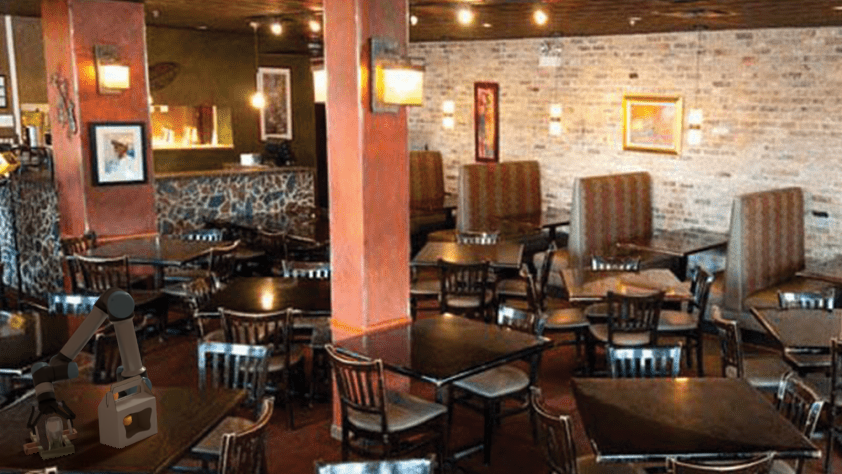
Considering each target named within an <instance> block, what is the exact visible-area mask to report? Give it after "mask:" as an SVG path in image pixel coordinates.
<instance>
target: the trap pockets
mask: <svg viewBox="0 0 842 474" xmlns="http://www.w3.org/2000/svg"><path fill="white" fill-rule="evenodd" d="M72 431H73V433H72V435H70V432H69V428H68V429H65V430H64V429H63V433H64V435H66V436H67V437H68V439H69V441H71V440H77V439H78V438H79V433H78V431H77V430H76V428H75V427H72ZM62 442H63V439H62ZM22 447H23V448H22V449H23V452H24V454H25V455H26V456H30V455H34V454H33V453H35V454H38V453H37V452H39V451H38V447H36V442H33V441H32V442H29V443H28V442H27V443H25V444H22ZM29 454H30V455H29Z"/></svg>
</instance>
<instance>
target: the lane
mask: <svg viewBox="0 0 842 474" xmlns="http://www.w3.org/2000/svg"><path fill="white" fill-rule="evenodd" d="M29 438H30V439H31V442H32V443H33V442H36V447H38V451H39V453H38V454H39V456H40V458H41V457H42V458H41V459H43V460H42V461H46V460H45V459H47V460H50V459H49V458H52V459H55V457H56V458H60V456H61V457H64V456H63V455H65V456H68V454H70V455H73V454H72V453H74V454H75V453H76V451H75V444H72V442H71V440H69V439H68V437H67V436H66V435H64V433H63V436H62V439H63V441H62V443H64V445H65V446H63V447H61V448H56V449H51V450H49V449H48V450H47V449H46V450H45V449H44V448H43V446H42V445H40V441H39V442H37V439H36V435H33V433H32V431H30V432H29Z"/></svg>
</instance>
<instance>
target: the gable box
mask: <svg viewBox="0 0 842 474" xmlns="http://www.w3.org/2000/svg"><path fill="white" fill-rule="evenodd" d="M134 386H138V387H137V392H136V393H133V394H130V395H128V396H125V397H122V398H119V399H118V398H116V399H115V396H114V395H115V394H118V392H120V391H123V390H126V389H129V388H132V387H134ZM144 391H145V392H144ZM156 399H157V398H156V396H155V395H154V393H153V391H152V389H151V390H150V389H149V387H148V386H147V385H146V383H145V380H142V378H141V376H140V375H137V376H134V377H131V378H128V379H125V380H122V381H120V382H117V381H116V382H114V383H112V384H110V387H109V390H108V391H106V393H105V395H104V396H103V397H102V399H101V401H100V402H99V404H98V406H97V415H98V427H99V442H100V444H102V445H105V444H106V446H108V445H109V446H108V447H111V446H112V448H115V447H116V448H115V449H118V448H119V449H118V450H120V448H121V449H123V448H125V446H126V447H128V446H130V445H133V444H135V443H137V442H139V441H142V440H144V439H147V438H149V437H151V436H153V435H156V434H158V418H157V402H156V401H157V400H156ZM127 416H130V418H131V422H130V423H129V424H128V425H125V424H124V419H125V417H127Z"/></svg>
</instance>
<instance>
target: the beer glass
mask: <svg viewBox="0 0 842 474" xmlns="http://www.w3.org/2000/svg"><path fill="white" fill-rule="evenodd" d="M62 418H63V417H62V416H60V415H59V416H51V417H47V418H46V419H45V434H46V437H47V440H48V441H47V442H48V450H51V449H56V448H61V447H64V446H63V441H62V436H63V430H64V425H63V419H62Z"/></svg>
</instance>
